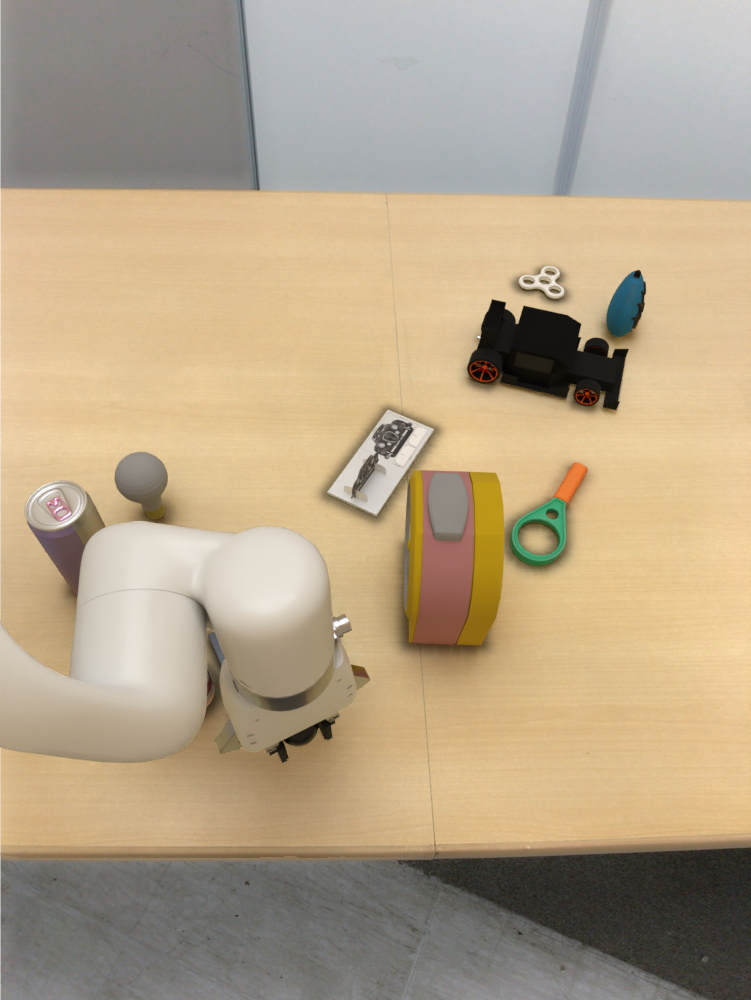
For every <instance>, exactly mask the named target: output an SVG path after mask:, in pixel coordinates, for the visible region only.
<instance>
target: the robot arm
mask: <svg viewBox="0 0 751 1000" xmlns="http://www.w3.org/2000/svg"><path fill="white" fill-rule="evenodd" d="M75 608H76V609H75V617H74V624H73V634H72V642H71V643H72V644H71V655H70V664H69V675H68V676H67V675H65V674H61V673H60V672H57V671H56V670H54V669H52V668H50V667H48V666H46V665H45V664H44V663H42V662H41V661H39V660H38V659H37V658H35V657H34V656H33V655H31V654H30V653H28V651H26V650H25V648H24V647H22V645H20V643H18V642H17V641H16V640H15V639H14V638H13V636H12V635H11V634H10V632H9V631H8V630H7V629H6V627H5V626H4V624H3V623H2V622H1V621H0V749H5V750H8V751H14V752H19V753H26V754H33V755H42V756H48V757H49V756H50V757H56V758H64V759H71V760H79V761H89V762H96V763H111V764H112V763H114V764H141V763H149V762H154V761H158V760H162V759H165V758H168V757H171V756H173V755H175V754H177V753H179V752H180V751H182V750H183V749H184V748H186V747H188V745H190V744H191V743H192V741H193V740H194V739H195V738H196V737H197V736H198V734H199V732H200V730H201V729H202V726H203V724H204V721H205V717H206V714H207V707H208V706H207V667H208V637H207V636H208V633H207V632H208V631H207V629H209V630H211V631H212V633H213V632H214V633H215V634H216V637H217V639H218V642H219V645H220V647H221V650H222V652H223V655H224V657H225V659H224V661H223V663H222V667H221V666H220V670H219V671H220V672H219V690H220V695H221V699H222V704H223V706H224V710H225V713H226V715H227V718H228V719H227V722H226V723H225V724H224V726H223V727H222V729H220V731H219V733H218V734H217V735H216V737H215V739H214V742H215V744H216V747H217V748H218V752H219V754H220V755H223V754H227V753H231V752H235V751H239V750H240V749H241V748H242V749H243V750H244V751H246V752H249V753H257V752H260V751H262V750H263V751H264V752H265V753H266V754H269V756H273V755H276V754H277V755H278V758H279V759H280V762H281V764H284V763H287V762H288V760H289V759H290V757H289V753H288V750H287V747H286V743H285V741H283V740H284V739H286V738H288V737H290V736H292V735H294V734H296V733H298V732H300V731H302V730H304V729H306V728H308V727H310V726H312V725H314V724H316V723H318V722H319V728H318V730H319V731H320V733H321V736H322V738H323V740H324V741H328V742H329V740H331V739H333V730H332V726H333V725H335V724H336V720H337V719H339V718H340V716H341V714H340V712H342V711H344V710H345V709H346V708H348V707H350V706H351V705H352V704H353V703H354V701H355V699H356V696H357V692H358V691H359V690H360V689H362V688H363V687H364V686H366V685H367V684H369V682H370V681H371V678H370V676H369V673H368V672H367V670H366V668H365V667H364V666H360V665H355V664H351V661H350V659H349V656H348V654H347V651H346V648H345V646H344V643H343V641H342V638H343V637H344V635H345V634H347V633H349V632H352V630H353V629H352V625H351V622H350V620H349V618H348V616H347V614H346V613H343V614H340V615H338V616H335V615H334V616H333V605H332V591H331V579H330V574H329V569H328V566H327V562H326V560H325V559H324V556H323V555H322V553H321V552H320V549H319V548H318V547H316V545H315V544H314V543H313V542H312V541H311V540H310V539H308V538H307V537H305V536H304V535H303V534H301V533H299V532H298V531H296V530H294V529H291V528H290V529H289V528H288V527H283V526H276V525H261V526H255V527H251V528H247V529H245V530H241V531H239V532H232V531H222V530H213V529H204V528H203V529H202V528H197V527H190V526H189V527H187V526H181V525H173V524H166V523H156V522H153V521H148V520H147V521H146V520H133V521H127V522H119V523H115V524H110V525H107V526H106V527H105V528H103V529H101V530H99V531H98V532H96V533H95V534H94V535H93V536H92V537H91V538H90V539H89V541H88V542H87V544H86V546H85V549H84V551H83V555H82V560H81V566H80V575H79V585H78V596H77V597H76V606H75ZM206 706H207V707H206Z"/></svg>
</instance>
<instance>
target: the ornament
mask: <svg viewBox="0 0 751 1000" xmlns="http://www.w3.org/2000/svg"><path fill="white" fill-rule="evenodd" d="M646 294H647V283H646V281H644V276H643V274H642V271H641V270H640V269H636V270H633V271H631V272H630V273H629V274H627V275H626V276H625V277H624V279H623V280H622V281H621V282H620V283H619V285H618V286H617V288H616V290H615V292H614V293H613V294H612V297H611V299H610V301H609V304H608V305H607V310H606V317H605V318H606V320H605V321H606V322H605V323H606V324H605V325H606V328H607V330H608V332H609V334H610V335H612V336H613V337H615V338H622V337H623V336H626V335H627V334H629V333H631V332H632V331H633V330H634V329H636V328H637V326H638V324H639V322H640V320H641V318H642V314H643V313H644V310H645V306H646V303H645V296H646Z"/></svg>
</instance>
